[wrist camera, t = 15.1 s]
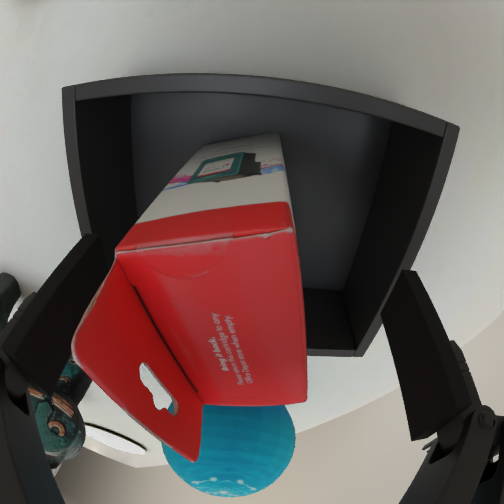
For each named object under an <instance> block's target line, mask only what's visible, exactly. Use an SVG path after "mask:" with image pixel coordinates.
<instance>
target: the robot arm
mask: <svg viewBox="0 0 504 504" xmlns="http://www.w3.org/2000/svg"><path fill="white" fill-rule="evenodd" d="M108 273H109V272H108V268H107V264H106V260H105V256H104V252H103V247H102V243H101V239H100V235H97V234H89V233H86V234H85V235H84V236H83V237H82V238H81V239H80V241H79V242H78V243H77V244H76V245H75V246H74V247H73V249H72V250H71V251H70V252H69V253H68V254H67V256H66V257H65V258H64V259H63V260H62V262H61V263H60V264H59V265H58V267H57V268H56V269H55V270H54V271H53V273H52V274H51V275H50V277H49V278H48V279H47V280H46V282H45V283H44V284H43V286H42V287H41V288H40V290H39V291H38V292H37V293H36V292H33V293H32V294H31V295H30V296H28V297H27V298H26V299H25V300H24V301H23V302H22V304H21V305H20V307H19V308H18V311H16V312H15V314H14V315H13V318H11V319H10V321H9V322H8V324H7V325H6V327H5V328H4V330H3V332H2V333H1V335H0V504H65V502H64V500H63V497H62V495H61V493H60V490H59V488H58V486H57V483H56V481H55V478H54V476H53V473H52V470H51V468H50V465H49V462H48V459H47V456H46V453H45V450H44V447H43V444H42V440H41V437H40V433H39V430H38V426H37V422H36V418H35V414H34V409H33V405H32V400H31V395H30V392H29V389H28V388H27V387H28V385H29V383H30V384H31V385H32V386H33V387H34V389H35V390H36V391H38V392H40V393H42V394H44V395H46V396H48V397H51V396H52V394H53V391H54V389H55V387H56V385H57V383H58V380H59V378H60V376H61V374H62V372H63V370H64V368H65V366H66V364H67V362H68V360H69V358H70V356H71V354H72V350H71V342H72V338H73V336H74V333H75V331H76V329H77V327H78V325H79V323H80V321H81V319H82V317H83V315H84V313H85V311H86V309H87V308H88V306H89V304H90V303H91V301H92V299H93V297H94V296H95V294H96V292H97V291H98V289H99V287H100V286H101V284H102V282H103V281H104V279H105V278H106V276H107V275H108ZM380 315H381V319H382V322H383V325H384V328H385V332H386V335H387V338H388V342H389V345H390V349H391V353H392V356H393V360H394V364H395V368H396V371H397V375H398V379H399V384H400V388H401V392H402V396H403V401H404V405H405V410H406V415H407V420H408V425H409V430H410V436H411V441H415V440H420V439H425V438H428V437H429V436H431V435H432V434H434V433H435V432H437V436H438V437H437V438H436V439H434V440H433V441H431V442H430V443H428V444H426V445H425V446H424V447H423V449H422V450H425V449H427V448H429V447H430V446H431V447H430V449H429V450H428V451H427V453H428V454H427V455H426V457H425V459H424V461H423V463H422V465H421V467H420V469H419V471H418V472H417V474H416V476H415V478H414V480H413V481H412V483H411V485H410V486H409V488H408V490H407V491H406V493H405V494H404V496H403V498H402V499H401V501H400V502H399V504H504V416H497V415H495V414H494V411H493V410H492V409H491V408H490V407H488V406H486V405H482V404H481V401H480V399H479V395H478V392H477V390H476V387H475V384H474V381H473V378H472V376H471V373H470V372H469V368H468V365H467V363H466V360H465V358H464V355H463V353H462V350H461V349H460V348H459V346H458V345H457V344H456V342H455V341H454V340H452V341H449V339H448V336H447V334H446V332H445V329H444V327H443V325H442V323H441V320H440V318H439V316H438V314H437V312H436V310H435V308H434V306H433V303H432V301H431V299H430V297H429V295H428V293H427V291H426V289H425V287H424V285H423V284H422V282H421V280H420V278H419V276H418V274H417V272H416V271H412V270H403V269H402V270H401V273H400V275H399V277H398V279H397V281H396V283H395V285H394V287H393V289H392V291H391V293H390V295H389V297H388V299H387V301H386V303H385V305H384V307H383V309H382V311H381V313H380ZM497 454H499V459H498V460H497V461H496V462H493V457H494V456H495V455H497Z"/></svg>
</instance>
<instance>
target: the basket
mask: <svg viewBox="0 0 504 504" xmlns="http://www.w3.org/2000/svg"><path fill="white" fill-rule="evenodd" d="M62 107H63V123H64V135H65V145H66V154H67V162H68V169H69V176H70V182H71V188H72V193H73V199H74V204H75V209H76V214H77V218H78V223H79V227H80V231H81V236H82V237H83V236H84V235H85V234H86V233H89V234H97V235H100V239H101V243H102V247H103V252H104V256H105V260H106V264H107V268H108V272H109V271H110V269H111V267H112V265H113V262H114V260H115V248H116V247H117V246H118V244H119V243H120V242H121V241H122V240H123V238H124V237H125V235H126V234H127V233H128V232H129V230H130V229H131V228H132V227H133V226H134V225H135V223H136V222H137V221H138V220H139V219H140V217H141V216H142V214H143V213H144V212H145V211H146V210H147V208H148V207H149V206H150V205H151V204H152V202H153V201H154V200H155V199H156V198H157V197H158V195H159V194H160V193H161V192H162V191H163V189H164V188H165V187H166V186H167V185H168V183H169V182H170V181H171V180H172V179H173V178H174V177H175V176H176V174H177V173H178V172H179V171H180V169H182V167H183V166H184V165H185V164H186V163H187V162H188V161H189V160H190V158H191V157H192V156H193V155H194V154H195V153H196V152H197V151H198V150H199V149H200V148H201V147H202V146H204V145H209V144H214V143H218V142H223V141H228V140H233V139H238V138H243V137H248V136H253V135H259V134H265V133H272V132H278V133H279V135H280V140H281V146H282V152H283V158H284V163H285V169H286V175H287V181H288V187H289V193H290V199H291V206H292V212H293V218H294V224H295V231H296V239H297V245H298V254H299V260H300V270H301V277H302V287H303V298H304V312H305V325H306V342H307V343H306V346H307V356H333V357H352V356H353V357H363V355H364V354H365V352H366V350H367V349H368V347H369V345H370V344H371V342H372V341H373V339H374V337H375V335H376V334H377V332H378V330H379V329H380V327H381V325H382V323H383V322H382V319H381V315H380V313H381V311H382V309H383V307H384V305H385V303H386V301H387V299H388V297H389V295H390V293H391V291H392V289H393V287H394V285H395V283H396V281H397V279H398V277H399V275H400V273H401V270H402V269H403V270H410V269H411V267H412V265H413V263H414V261H415V258H416V256H417V254H418V252H419V249H420V247H421V245H422V242H423V240H424V238H425V235H426V233H427V230H428V228H429V225H430V223H431V220H432V217H433V215H434V212H435V209H436V207H437V204H438V201H439V198H440V195H441V192H442V190H443V187H444V183H445V180H446V177H447V174H448V171H449V167H450V164H451V161H452V157H453V153H454V150H455V146H456V142H457V138H458V134H459V130H460V127H459V126H457V125H454V124H452V123H450V122H447V121H445V120H442V119H440V118H437V117H435V116H432V115H429V114H427V113H424V112H421V111H418V110H415V109H413V108H410V107H407V106H404V105H400V104H397V103H394V102H391V101H387V100H384V99H380V98H377V97H373V96H370V95H366V94H362V93H358V92H354V91H349V90H345V89H340V88H336V87H331V86H326V85H320V84H315V83H309V82H303V81H296V80H289V79H282V78H273V77H264V76H253V75H239V74H218V73H176V74H155V75H142V76H131V77H122V78H114V79H107V80H100V81H94V82H88V83H82V84H77V85H72V86H67V87H63V88H62Z"/></svg>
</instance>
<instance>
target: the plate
mask: <svg viewBox="0 0 504 504" xmlns="http://www.w3.org/2000/svg"><path fill="white" fill-rule="evenodd" d="M85 430H86V434H87V435H88V436H90V437H92V438H93V439H95V440H97V441H99V442H101V443H103V444H105V445H108V446H110V447H113V448H115V449H118V450H121V451H125V452H128V453H133V454H140V455H142V454H146V453H147V452H146V450H145V449H144V448H143V447H141V446H139V445H138V444H136V443H134V442H132V441H131V440H128V439H126V438H124V437H122V436H120V435H118V434H115V433H113V432H110V431H107V430H105V429H101V428H98V427H94V426H90V425H86V424H85Z"/></svg>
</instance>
